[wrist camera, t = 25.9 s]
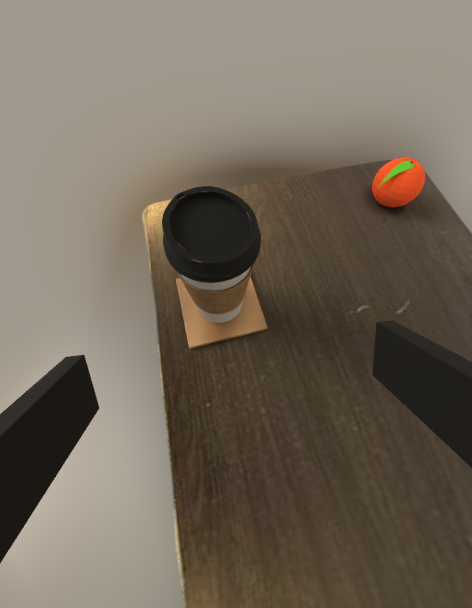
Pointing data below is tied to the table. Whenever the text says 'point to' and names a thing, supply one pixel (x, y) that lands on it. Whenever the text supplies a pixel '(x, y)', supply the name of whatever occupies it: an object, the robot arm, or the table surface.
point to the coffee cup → (212, 248)
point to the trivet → (210, 332)
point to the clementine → (398, 182)
